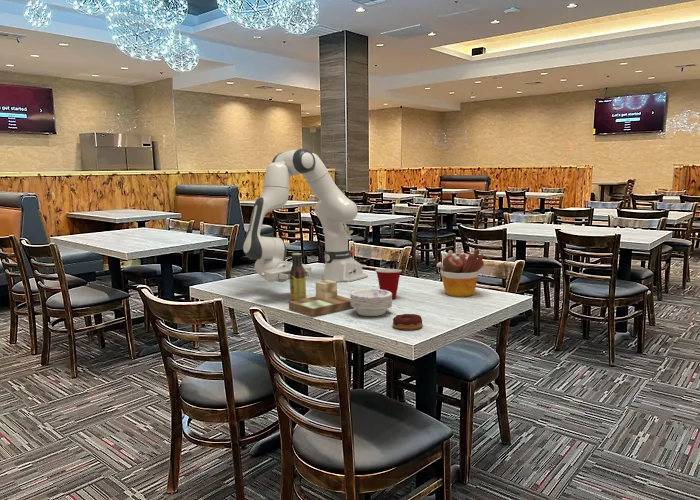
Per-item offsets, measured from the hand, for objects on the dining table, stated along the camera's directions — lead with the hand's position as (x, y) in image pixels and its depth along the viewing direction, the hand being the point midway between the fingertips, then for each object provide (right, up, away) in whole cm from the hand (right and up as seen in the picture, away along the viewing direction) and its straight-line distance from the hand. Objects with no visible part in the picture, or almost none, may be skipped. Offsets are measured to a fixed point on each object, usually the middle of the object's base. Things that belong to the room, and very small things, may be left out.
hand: (298, 275), depth 213 cm
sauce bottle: (0, -11, +2) cm, 11 cm away
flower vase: (+14, 0, +75) cm, 77 cm away
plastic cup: (+36, -10, +6) cm, 38 cm away
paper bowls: (+28, -13, -17) cm, 36 cm away
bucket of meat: (+67, -8, +10) cm, 68 cm away
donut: (+40, -16, -35) cm, 55 cm away
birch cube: (+11, -8, -3) cm, 14 cm away
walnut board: (+10, -12, -9) cm, 18 cm away
